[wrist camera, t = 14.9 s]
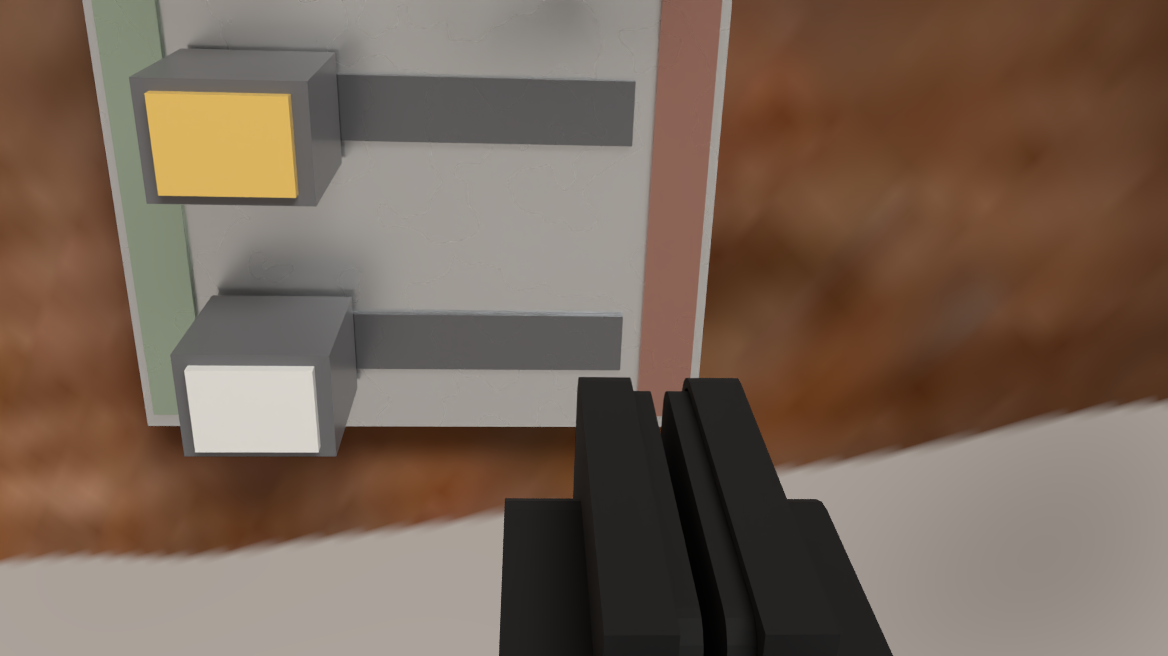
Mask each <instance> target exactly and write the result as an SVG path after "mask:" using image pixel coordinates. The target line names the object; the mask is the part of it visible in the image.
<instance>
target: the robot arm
mask: <svg viewBox="0 0 1168 656" xmlns="http://www.w3.org/2000/svg"><path fill="white" fill-rule="evenodd" d="M499 656H893V655H892V653H891V650H890V648H889V646H888V644H887V642H886V639H885V637H884V635H883V633H882V630H881V628H880V626H879V624H878V622H877V620H876V617H875V615H874V613H873V611H872V608H871V606H870V604H869V602H868V600H867V597H866V595H865V593H864V591H863V589H862V586H861V584H860V582H859V580H858V578H857V575H856V573H855V571H854V569H853V566H852V564H851V562H850V560H849V558H848V555H847V553H846V551H845V549H844V547H843V545H842V542H841V540H840V538H839V536H838V533H837V531H836V529H835V527H834V524H833V522H832V520H831V518H830V516H829V513H828V511H827V509H826V508H825V506H824V505H823V503H822V502H821V501H819V500H816V499H787V498H786V496H785V493H784V491H783V488H782V486H781V483H780V481H779V478H778V476H777V473H776V471H775V468H774V466H773V463H772V460H771V458H770V455H769V453H768V450H767V448H766V445H765V443H764V440H763V438H762V435H761V433H760V430H759V428H758V425H757V423H756V420H755V418H754V415H753V413H752V410H751V408H750V405H749V403H748V400H747V398H746V395H745V393H744V390H743V388H742V385H741V383H740V381H739V379H738V378H685V380H684V383H683V387H682V391H666V392H665V394H664V400H663V410H662V423H661V434H660V429H659V425H658V420H657V416H656V412H655V407H654V403H653V398H652V394H651V391H633V386H632V381H631V378H630V377H579V378H578V386H577V408H576V436H575V463H574V491H573V499H516V498H505V513H504V539H503V566H502V592H501V618H500V645H499Z"/></svg>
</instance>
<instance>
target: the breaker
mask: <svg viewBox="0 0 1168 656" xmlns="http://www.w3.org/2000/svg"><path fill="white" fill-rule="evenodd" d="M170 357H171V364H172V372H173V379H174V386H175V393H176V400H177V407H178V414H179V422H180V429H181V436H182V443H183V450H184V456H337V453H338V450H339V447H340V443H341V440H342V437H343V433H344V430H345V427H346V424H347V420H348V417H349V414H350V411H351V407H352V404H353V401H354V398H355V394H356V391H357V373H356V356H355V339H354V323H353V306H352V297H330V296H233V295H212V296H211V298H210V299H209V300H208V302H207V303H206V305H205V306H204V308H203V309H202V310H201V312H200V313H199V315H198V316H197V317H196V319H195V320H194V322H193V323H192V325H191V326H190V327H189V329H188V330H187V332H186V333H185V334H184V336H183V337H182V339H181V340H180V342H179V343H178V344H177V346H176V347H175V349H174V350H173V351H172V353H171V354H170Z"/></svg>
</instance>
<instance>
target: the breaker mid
mask: <svg viewBox="0 0 1168 656" xmlns="http://www.w3.org/2000/svg"><path fill="white" fill-rule="evenodd" d="M129 82H130V89H131V96H132V103H133V110H134V117H135V125H136V132H137V139H138V146H139V153H140V160H141V167H142V174H143V181H144V188H145V195H146V203H147V204H189V205H252V206H315V207H316V206H317V205H318V203H319V201H320V199H321V198H322V196H323V194H324V193H325V191H326V189H327V187H328V186H329V184H330V182H331V181H332V179H333V177H334V176H335V174H336V172H337V170H338V169H339V167H340V165H341V164H342V157H341V140H340V124H339V107H338V91H337V75H336V58H335V52H303V51H264V50H224V49H185V48H180V49H179V50H177V51H175V52H173V53H171V54H170V55H168V56H166V57H164V58H162V59H161V60H159V61H157V62H155V63H153V64H152V65H150V66H148V67H146V68H144V69H143V70H141V71H139V72H137V73H135V74H133V75H132V76H130V77H129Z"/></svg>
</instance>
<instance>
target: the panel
mask: <svg viewBox="0 0 1168 656" xmlns="http://www.w3.org/2000/svg"><path fill="white" fill-rule="evenodd" d="M82 1H83V8H84V14H85V21H86V27H87V34H88V40H89V47H90V53H91V60H92V66H93V73H94V79H95V85H96V92H97V98H98V105H99V111H100V118H101V124H102V131H103V137H104V144H105V150H106V157H107V163H108V170H109V176H110V183H111V189H112V196H113V202H114V209H115V215H116V221H117V228H118V234H119V241H120V247H121V254H122V260H123V267H124V273H125V280H126V286H127V293H128V299H129V306H130V312H131V319H132V325H133V332H134V338H135V345H136V351H137V358H138V364H139V370H140V377H141V383H142V390H143V396H144V403H145V409H146V416H147V422H148V426H180V422H179V414H178V407H177V400H176V393H175V386H174V379H173V372H172V364H171V357H170V354H171V353H172V351H173V350H174V349H175V347H176V346H177V344H178V343H179V342H180V340H181V339H182V337H183V336H184V334H185V333H186V332H187V330H188V329H189V327H190V326H191V325H192V323H193V322H194V320H195V319H196V317H197V316H198V315H199V313H200V312H201V310H202V309H203V308H204V306H205V305H206V303H207V302H208V300H209V299H210V298H211V296H212V295H233V296H330V297H352V306H353V323H354V339H355V356H356V373H357V391H356V394H355V398H354V401H353V404H352V407H351V411H350V414H349V417H348V420H347V424H346V426H436V427H576V408H577V386H578V378H579V377H630V378H631V381H632V386H633V391H651V394H652V398H653V403H654V407H655V412H656V416H657V420H658V425H659V427H661V423H662V410H663V400H664V394H665V392H666V391H682V387H683V383H684V380H685V378H699V369H700V357H701V346H702V335H703V323H704V312H705V301H706V290H707V278H708V267H709V256H710V244H711V233H712V222H713V211H714V199H715V188H716V177H717V165H718V154H719V143H720V132H721V120H722V109H723V98H724V86H725V75H726V64H727V53H728V41H729V30H730V19H731V7H732V0H82ZM180 48H185V49H224V50H264V51H303V52H335V58H336V75H337V91H338V107H339V124H340V140H341V157H342V164H341V165H340V167H339V169H338V170H337V172H336V174H335V176H334V177H333V179H332V181H331V182H330V184H329V186H328V187H327V189H326V191H325V193H324V194H323V196H322V198H321V199H320V201H319V203H318V205H317V206H316V207H315V206H252V205H189V204H147V203H146V195H145V188H144V181H143V174H142V167H141V160H140V153H139V146H138V139H137V132H136V125H135V117H134V110H133V103H132V96H131V89H130V82H129V77H130V76H132V75H133V74H135V73H137V72H139V71H141V70H143V69H144V68H146V67H148V66H150V65H152V64H153V63H155V62H157V61H159V60H161V59H162V58H164V57H166V56H168V55H170V54H171V53H173V52H175V51H177V50H179V49H180Z"/></svg>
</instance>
